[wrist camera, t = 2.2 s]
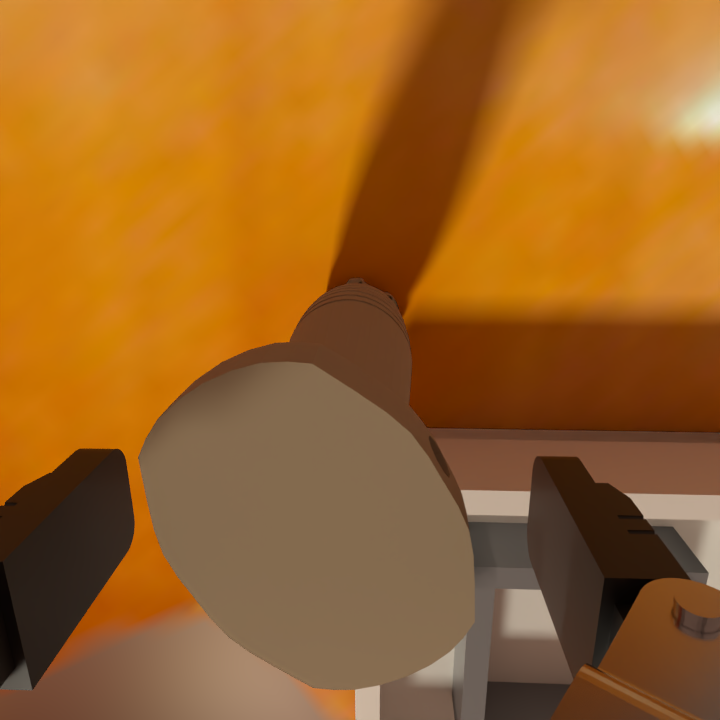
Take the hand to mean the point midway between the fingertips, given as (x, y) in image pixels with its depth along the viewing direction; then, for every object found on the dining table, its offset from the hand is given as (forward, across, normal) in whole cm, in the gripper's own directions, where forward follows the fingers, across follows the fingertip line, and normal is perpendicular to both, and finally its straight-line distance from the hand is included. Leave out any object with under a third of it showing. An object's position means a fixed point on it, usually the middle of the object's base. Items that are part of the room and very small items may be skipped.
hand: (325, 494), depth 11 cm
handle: (+13, 0, 0) cm, 13 cm away
